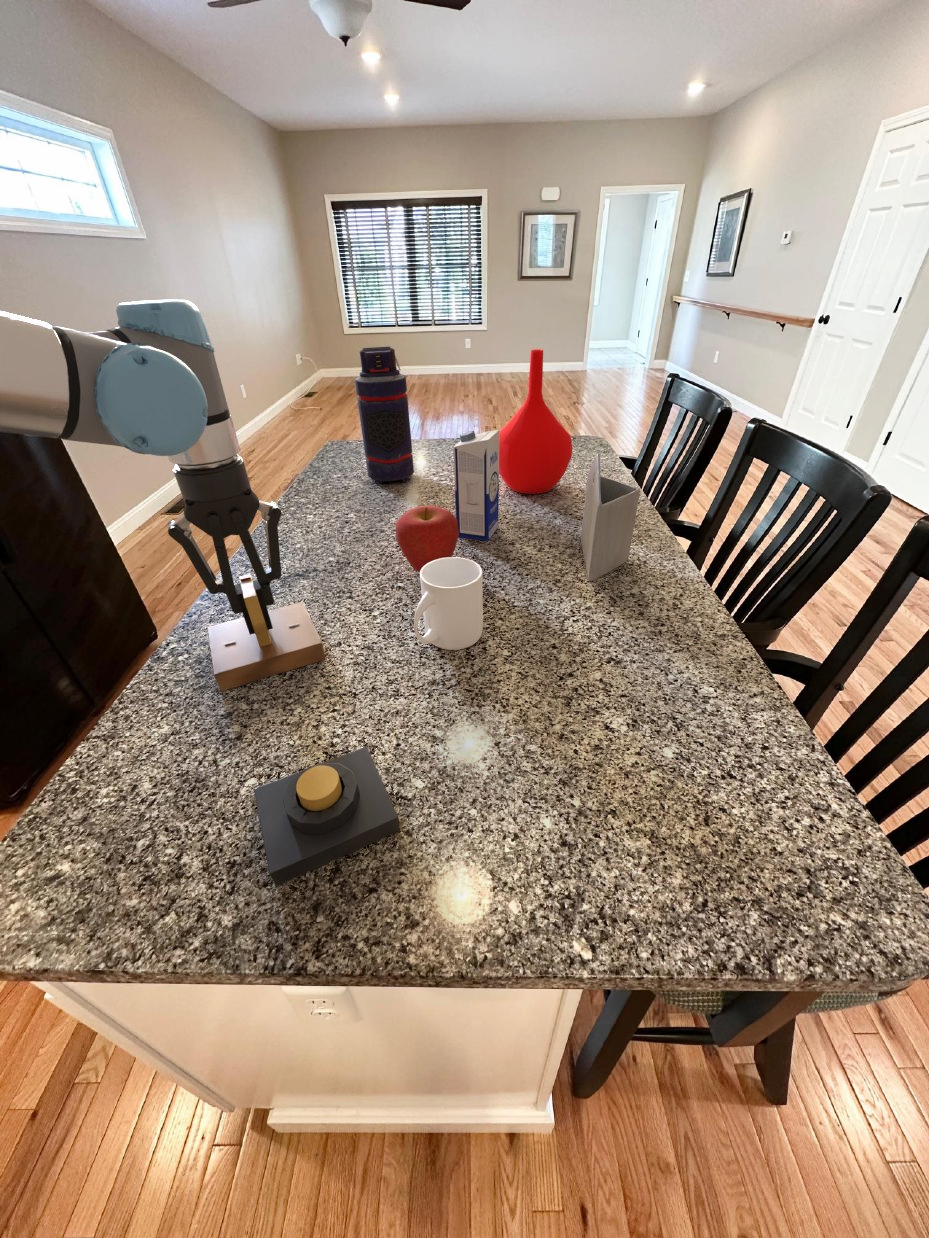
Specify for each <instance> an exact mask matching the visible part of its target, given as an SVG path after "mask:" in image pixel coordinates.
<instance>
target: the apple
mask: <svg viewBox="0 0 929 1238" xmlns="http://www.w3.org/2000/svg"><path fill="white" fill-rule="evenodd" d="M394 524H395V526H394V527H395V540H396V542H397V544H398V546H399V548H400V550H401V552H402V554H403V556H404V558H405V559H406V560H407V562H408V563H409V565H410V566H411V568H412V569H413V571H416V572H418V573H420V571H421V569H422V568H423V567H424V566H425V565H426V564H427V563H429V562H431V561H434V560H437V559H440V558H447V557H453V554H454V553H455V550H456V546H457V543H458V540H459V537H458V536H459V531H458V522H457V518H456V515H454V514H453V513H452V512H451V511H449V510H448V509H446V508H443V507H441V506H436V505H419V506H416V507H414V508H410V509H409V510H407V511H405V512H404V513H403V514H402V515H401V516H400V517H399V518H398V519H397V521H395V523H394Z"/></svg>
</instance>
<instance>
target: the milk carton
mask: <svg viewBox="0 0 929 1238" xmlns="http://www.w3.org/2000/svg"><path fill="white" fill-rule="evenodd" d="M499 432H500V429H495V430H494V429H493V430H487V431H483V432H480V433H479V432H478V433H475V431H474V430H470V431H467V432H463V433H461V434H459V439H460V441H458V442H457V443H456V444H454V446H452V451H453V452H452V453H453V455H452V456H453V476H454V477H453V478H454V501H455V504H454V505H455V517H456V518H457V522H458V531H459V536H458V538H461V539H462V538H463V539H470V540H476V541H483V542H489V541H490V539H491V538H492V536H493V535H494V534H495V533H496V532H497V530H498V529H499V512H500V511H499V507H500V505H499V503H500V501H499V500H500V495H499V494H500V492H499V491H500V474H499Z"/></svg>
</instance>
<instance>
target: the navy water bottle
mask: <svg viewBox="0 0 929 1238" xmlns="http://www.w3.org/2000/svg"><path fill="white" fill-rule="evenodd" d="M359 357H360V365H361V371H360V372H359V376H357V377H355V378H354V386H355V394H356V395H357V398H356V400H357V408H358V415H359V422H360V429H361V437H362V443H363V450H364V456H365V464H366V471H367V476H368V477H369V478H370V479H371V480H373V481H374V484H376V485H383V482H395V481H396V482H397V481H401V480H402V481H403V483H407V482H409V481H410V480H411V477H412V475H413V474H414V473H415V466H414V457H413V454H412V453H413V445H412V433H411V422H410V410H409V399H408V398H409V397H408V394H407V392H408V387H407V377H406V375H405V374H402V373H401V366H400V364H399V361H398V359H397V356H396V352H395V348H393V347H391V346H376V347H375V346H373V347H362V349H361V350H360V351H359Z"/></svg>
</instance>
